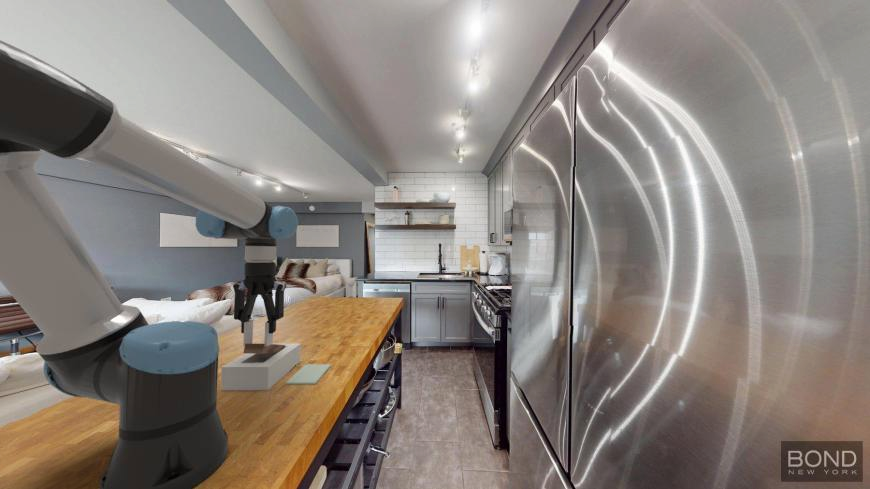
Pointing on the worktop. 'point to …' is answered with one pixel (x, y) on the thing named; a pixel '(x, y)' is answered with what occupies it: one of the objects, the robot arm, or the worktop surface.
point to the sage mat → (308, 374)
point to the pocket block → (259, 369)
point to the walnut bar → (263, 348)
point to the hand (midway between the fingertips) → (258, 344)
